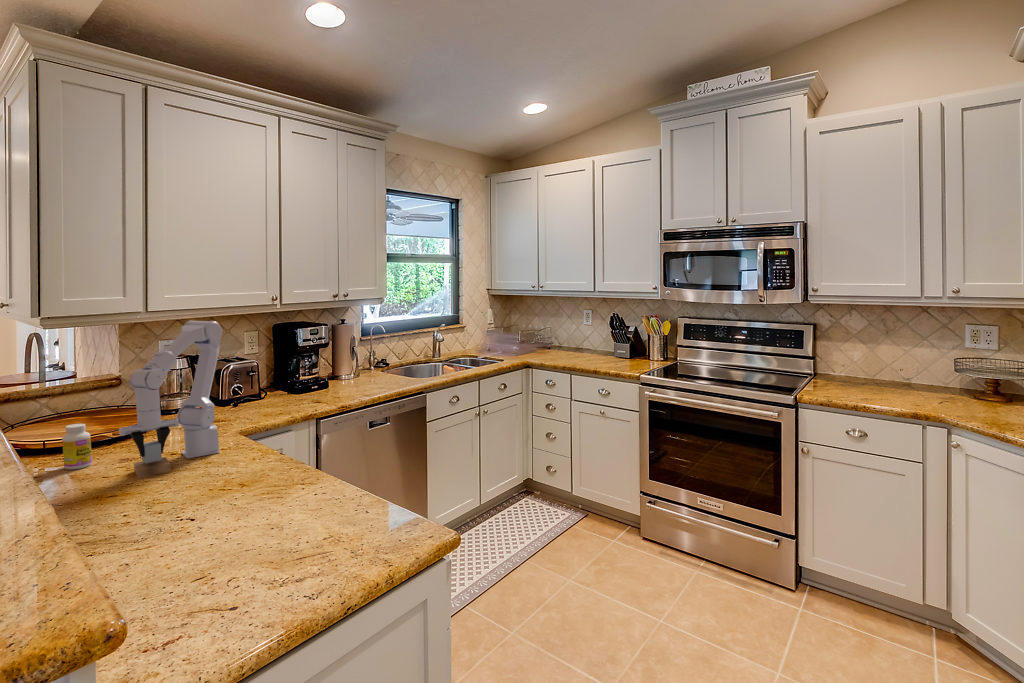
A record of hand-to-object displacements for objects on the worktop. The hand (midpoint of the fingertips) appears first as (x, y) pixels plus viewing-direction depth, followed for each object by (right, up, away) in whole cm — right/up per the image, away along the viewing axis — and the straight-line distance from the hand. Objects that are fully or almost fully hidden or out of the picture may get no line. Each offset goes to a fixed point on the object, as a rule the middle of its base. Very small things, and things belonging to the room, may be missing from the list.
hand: (151, 454), depth 156 cm
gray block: (0, -2, 0) cm, 2 cm away
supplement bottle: (-25, -5, +4) cm, 26 cm away
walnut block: (0, -6, +1) cm, 6 cm away
